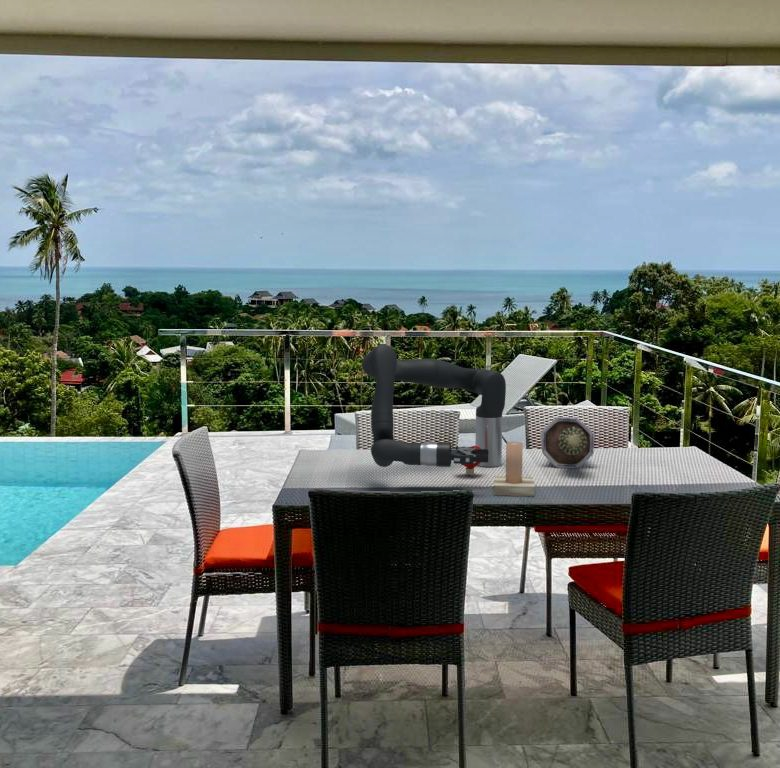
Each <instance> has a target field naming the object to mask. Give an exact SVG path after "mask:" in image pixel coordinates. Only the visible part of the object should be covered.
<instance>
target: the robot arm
mask: <svg viewBox="0 0 780 768" xmlns="http://www.w3.org/2000/svg"><path fill="white" fill-rule="evenodd" d="M361 367H362V370H363V372H364V373H365V374H366V375H367V376H368V377H370V378H373V379H375V381H376V382H375V389H374V394H373V398H372V403H371V410H370V411H371V412H370V420H371V421H370V424H371V433H372V437H373V438H372V442H373V443H372V445H371V447H370V453H371V457H372V458H373V461H374V463H375V464H377V466H379V467H381V468H387V467H390V466H391V465H392V464H393V462H400V463H403V464H404V465H407V466H424V467H435V468H436V467H439V468H443V467H444V468H450V467H451V466H452V462H453V464H456V465H461V464H471V465H472V464H473V463H476V462H481V463H480V464H479V465H477V467H478V466H479V467H485V468H488V467H489V468H495V467H496V468H497V467H500V466H502V462H503V461H502V455H503V454H502V452H503V411H504V410H505V407H506V394H507V392H506V389H507V382H506V379H505V376H504V374H502V373H501V372H500V371H495V370H491V369H482V368H481V369H480V368H466V367H461V366H459V365H457V364H454V363H451V362H448V361H444V360H441V359H435V358H416V359H408V360H407V359H406V360H404V359H398V357H397V352H396V351H395V350H394V349H393V347H392V346H390V345H388V344H385V343H383V344H378V345H377V346H375V347H374V348H373V349H372V350H370V351H369V352H368V353H367V354H366V355H365V356H364V357H363V359H362V362H361ZM395 381H401V382H407V383H411V384H417V385H423V386H427V387H433V388H437V389H438V388H439V389H461V390H465V391H468V392H472V393H474V394H478V395H480V396H481V401H480V402H481V403H480V405H479V406H477V407H476V408H475V442H474V443H475V444H474V446H478V447H480V448H481V449H477V450H476V448H474V447H472V446H455V447H454V449H453V448H452V443H451V442H445V441H444V442H443V441H442V442H438V441H436V442H434V441H427V442H405V441H401V440H395V438H394V390H395V389H394V387H395ZM466 450H467V451H466Z"/></svg>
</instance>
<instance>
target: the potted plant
mask: <svg viewBox="0 0 780 768" xmlns="http://www.w3.org/2000/svg"><path fill="white" fill-rule="evenodd" d="M540 438H541V453H542V454H543V456H544V457H545V458H546V459H547V461H549V462H550V463H551V464H552V465H553V466H554V467H555V468H557V467H558V469H579V468H581V467H582V466H583V465H584V464H585V463H586V462H587V461H589V460H590V459H591V457H592V456H593V455H594V451H595V450H594V448H595V445H594V444H595V443H594V441H595V440H594V433H593V431H592V430H591V428H589V427H588V426H587V425H586V424H585V423H584V422H582V421H581V420H580V419H579V418H576V417H562V416H561V417H560V416H559V417H558V416H557V417H555V418H554V419H553V420H552V421H551V422H550V423H549V424H547V425H546V426H545V427H544V428H543V429H542V430H541V436H540Z"/></svg>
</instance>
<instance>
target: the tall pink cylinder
mask: <svg viewBox="0 0 780 768" xmlns="http://www.w3.org/2000/svg"><path fill="white" fill-rule="evenodd" d="M523 445H524V443H523V442H520V441H508V442H506V443H505V477H506V482H507V483H512V484H517V483H521V482H522V477H523V450H524V448H523Z"/></svg>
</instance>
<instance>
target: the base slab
mask: <svg viewBox="0 0 780 768" xmlns="http://www.w3.org/2000/svg"><path fill="white" fill-rule="evenodd" d="M493 479H494V483H493V487H494V489H493V490H494V491H493V492H494V494H493V495H511V496H510V497H526V496H535V490H536V487H535V481H534V477H530V476H529V477H527V476H522V482H521V483H517V484H512V483H507V482H506V476H494V477H493Z"/></svg>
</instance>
